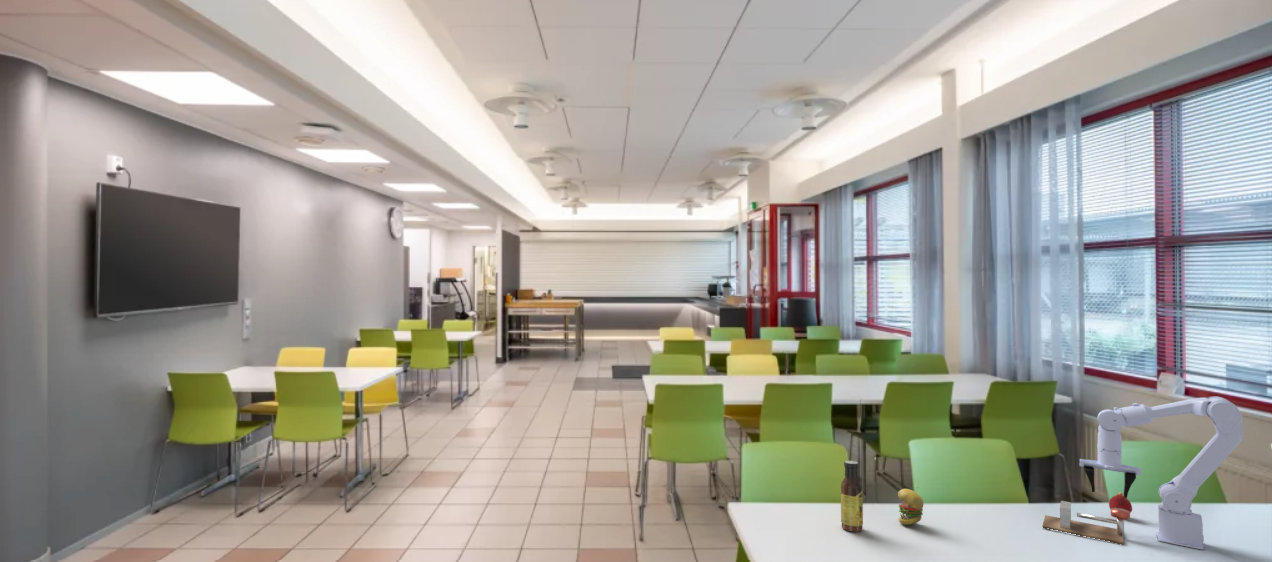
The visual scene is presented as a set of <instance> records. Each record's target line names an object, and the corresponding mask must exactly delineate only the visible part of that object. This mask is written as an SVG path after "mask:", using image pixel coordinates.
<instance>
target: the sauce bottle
mask: <svg viewBox="0 0 1272 562" xmlns="http://www.w3.org/2000/svg"><path fill="white" fill-rule="evenodd" d="M843 465H844V478H843V480H841V484H840V522H841V528H842V529H843V530H845V531H847V532H852V533H853V532H854V533H857V532H858V533H859V532H861V531H863V527H864V526H863V525H864V512H863V511H864V504H863V503H864V500H863V499H864V498H863V497H864V496H863V495H864V494H863V491H864V490H863V488H862V487H863V486H862V484H861V481H860V477H859V472H858V471H859V462H858V461H854V460H844V463H843Z"/></svg>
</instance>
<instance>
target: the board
mask: <svg viewBox="0 0 1272 562" xmlns="http://www.w3.org/2000/svg"><path fill="white" fill-rule="evenodd" d="M1041 527H1043V528H1049V529H1053V530H1058V531H1062V532H1067V533H1071V534H1076V535H1080V536H1079V537H1081V536H1086V537H1090V538H1095V539H1100V540H1105V541H1110V542H1113V543H1112V544H1115V543H1117V544H1116V545H1120V544H1121V545H1120V546H1124V536H1121V535H1118V534H1117V528H1115V527H1114V528H1113V527H1109V526H1104V525H1099V524H1095V523H1089V522H1083V521H1077V520H1073V519H1071V526H1070V529H1065V528H1060V517H1057V516H1054V515H1053V516H1051V515H1046V514H1045V515H1044V518H1043V523H1042V526H1041ZM1071 534H1070V535H1071ZM1076 535H1075V536H1076ZM1086 537H1085V538H1086ZM1090 538H1089V539H1090ZM1095 539H1094V540H1095ZM1100 540H1099V541H1100ZM1105 541H1104V542H1105ZM1110 542H1109V543H1110Z"/></svg>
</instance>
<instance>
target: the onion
mask: <svg viewBox="0 0 1272 562" xmlns="http://www.w3.org/2000/svg"><path fill="white" fill-rule="evenodd" d="M1108 507H1109V509H1110V510H1111V508H1121V509H1125V510H1128V511H1130V514H1131V513H1132V511H1133V506H1132V503H1131V501H1130V500H1129V499H1128V497H1127V498H1124V494H1123V493H1122V492H1121V491H1120V492H1118V493H1117V494H1116V495H1114V496H1112V497H1111V498H1110V499H1109V501H1108Z"/></svg>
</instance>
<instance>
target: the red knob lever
mask: <svg viewBox="0 0 1272 562" xmlns="http://www.w3.org/2000/svg"><path fill="white" fill-rule="evenodd" d="M1110 516H1111V517H1113V518H1114V519H1112V518H1109V517H1102V516H1097V515H1093V514H1092V515H1091V514H1088V513H1087V514H1086V513H1081V512H1076V517H1078V518H1082V519H1086V520H1087V519H1088V520H1093V521H1097V522H1103V523H1108V524H1114V525H1116V529H1117V534H1118V535H1121V536H1123V537H1124V536H1125V520H1130V519H1131V513H1130V511H1128V510H1125V509H1121V508H1111V509H1110ZM1115 518H1116V519H1115Z"/></svg>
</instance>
